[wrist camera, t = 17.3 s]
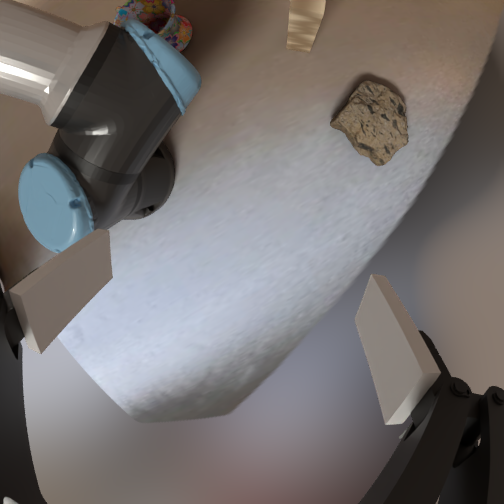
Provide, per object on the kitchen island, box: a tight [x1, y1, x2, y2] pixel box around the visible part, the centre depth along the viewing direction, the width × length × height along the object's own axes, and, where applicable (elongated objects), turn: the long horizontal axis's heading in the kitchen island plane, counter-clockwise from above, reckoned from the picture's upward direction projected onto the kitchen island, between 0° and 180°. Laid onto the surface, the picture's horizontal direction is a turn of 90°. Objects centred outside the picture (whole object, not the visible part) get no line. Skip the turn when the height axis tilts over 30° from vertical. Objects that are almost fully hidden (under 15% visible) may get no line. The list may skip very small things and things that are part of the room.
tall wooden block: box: [287, 0, 326, 53], centre depth 27 cm, size 4×4×16 cm
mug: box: [113, 0, 192, 52], centre depth 30 cm, size 12×9×11 cm
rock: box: [330, 81, 408, 166], centre depth 36 cm, size 11×12×4 cm
